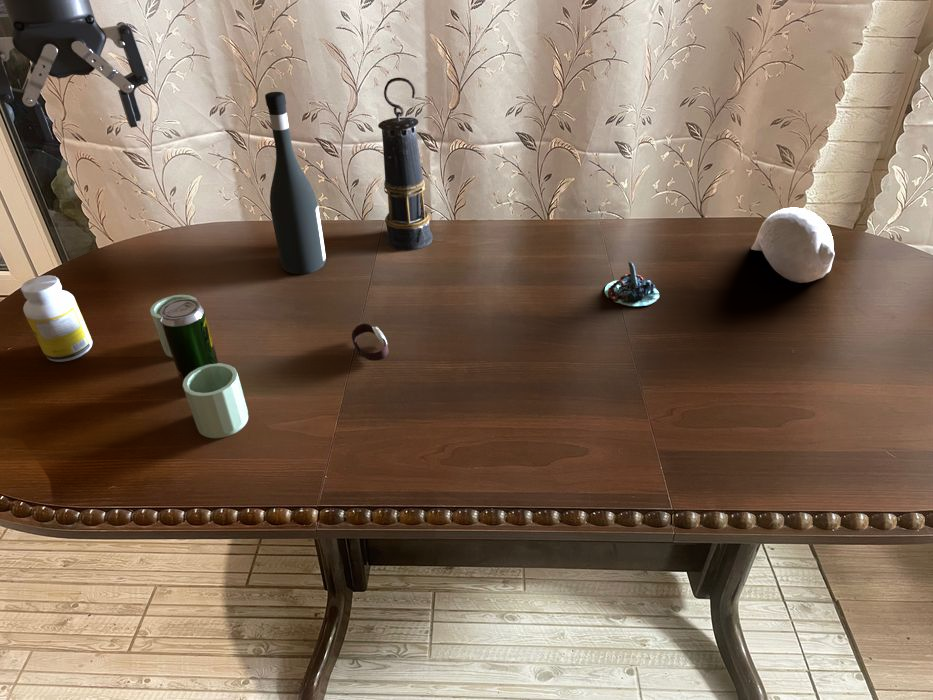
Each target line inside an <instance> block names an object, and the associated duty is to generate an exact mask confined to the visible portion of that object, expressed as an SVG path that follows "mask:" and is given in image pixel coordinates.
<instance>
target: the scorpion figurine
mask: <svg viewBox="0 0 933 700" xmlns="http://www.w3.org/2000/svg"><path fill="white" fill-rule="evenodd" d="M627 263H628V268H629V273H628V274H623V276H620V278H619V279H617V280H613V281H611V282H610V283H607V284H606V286H605V288H604V294H605V296H606V297H607V298H608V299H610V300H612V301H613V302H614V303H618V304H621V305H624V306H628V307H643V306H649V305H651V304H653V303H655V302H657V301H658V299H659V298H660V292H659V291H658V290H657V288H656V285H655V284H654V282H653V281H651V280H649V279H648V280H645V279H644V278H643V277H642V275H639V274H636V273H637V272H636V268H635V267H636V266H635V264H633V262H631V261H629V260H628V261H627Z"/></svg>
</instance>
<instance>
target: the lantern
mask: <svg viewBox="0 0 933 700" xmlns="http://www.w3.org/2000/svg"><path fill="white" fill-rule="evenodd" d="M394 82H404V83H407V84H408V85H409V86H410V88H411V91H412V93H411V94H412V95H411V98H412V99H416V88H415V86H414V84H413V83H412V82H411V81H410V80H409V79H407V78H405V77H393V78H391V79H389V80H388V81H387V82H386V83H385V86H384V89H383V97H384V100H385V101H386V103H387V104H388V105H389V106H391V107H393V114H394V115H395V116H396V117H391V118H387V119H383V120H382V121H381V122H379V123H378V124H377V127H378V129H380V130H381V137H382V149H383V150H382V152H383V167H384V183H383V186H384V187H383V191H384V193H385V194H387V204H388V206H387V208H388V213H387V214H386V216H385V218H384V223H385V226H386V235H385V242H386V244H387V245H388V246H389V247H390V248H393V249H395V250H402V251H414V250H415V251H416V250H420V249H424V248H427V247H428V246H429V245H431V244H432V242H433V238H434V237H433V233H432V231H431V226H430V219H431V216H430V214H429V213H428V212H427V211H426V209H425V200H424V199H425V198H424V193H423V192H424V191H425V189H426V185H425V183H426V182H425V179H424V176H423V169H422V164H421V158H420V150H419V143H418V136H417V135H418V134H417V126H418V125H419V123H420V121H419V120H418V119H417V118H415V117H408V116H407V117H403V116H404V114H405V110H404V108H403V107H402V106H400V105H399V104H396V103H393V102H392V101H391V100H390V99H389V97H388V94H387V93H388V89H389V88H388V87H389V86H390V84H392V83H394ZM397 109H399V110H400V111H397Z"/></svg>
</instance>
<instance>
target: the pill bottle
mask: <svg viewBox="0 0 933 700" xmlns="http://www.w3.org/2000/svg"><path fill="white" fill-rule="evenodd" d="M20 291H21V293H22V295H23V297H24V298H25V300H26V301H25V302H24V305H23V307H22V310H23V313H24V316H25V319H26V320H27V322H28V325H29V326H30V328H31V330H32V332H33V334H34V337H35V338H36V340H37V343H38V345H39V346H40V349H41V352H42V353H43V354H44V356H45V357H46V359H48V360H49V361H52V362H56V363H57V362H58V363H63V362H70V361H73V360H76V359H78V358H81V357H82V356H83V355H85V354H87V353H88V352H89V351H90V350H91V348H92V346H93V339H92V336H91V334H90V332H89V329H88V327H87V324H86V322H85V320H84V317H83V315H82V313H81V310H80V308H79V305H78V303H77V301H76V298H75V296H74V295H73V294H72V293H70V291H67V290H64V289H63V286H62V284H61V282H60V279H59V278H58V277H56V275H40V276H36V277H33V278H30V279H28V280H26V281H25V282H23V283H22V285H21V287H20Z"/></svg>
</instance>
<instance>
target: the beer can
mask: <svg viewBox="0 0 933 700" xmlns="http://www.w3.org/2000/svg"><path fill="white" fill-rule="evenodd" d="M196 300H197V299H196ZM196 300H194V299H178V300H175V301H172V302H169V303H167V304H166V305H164V306H163V307H162V308H161V310H160V315H161V318H160V321H161V324H162V327H163V330H164V333H165V336H166V339H167V342H168V345H169V348H170V351H171V353H172V356H173V357H172V359H173V362H174V365H175V367H176V371H177V374H178V377H179V380H180V383H181V384H182V385H183V382H184V379H185V377H186V376H187V375H188V374H189V373H190V372H192V371H194V370H195V369H197V368H199V367H202V366H205V365H209V364H217V363H220V362H219V359H218V355H217V352H216V348H215V345H214V341H213V337H212V334H211V329H210V326H209V323H208V320H207V317H206V313H205V310H204V308H203V307H202V306H201V303H200V302H199V300H197V301H196Z"/></svg>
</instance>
